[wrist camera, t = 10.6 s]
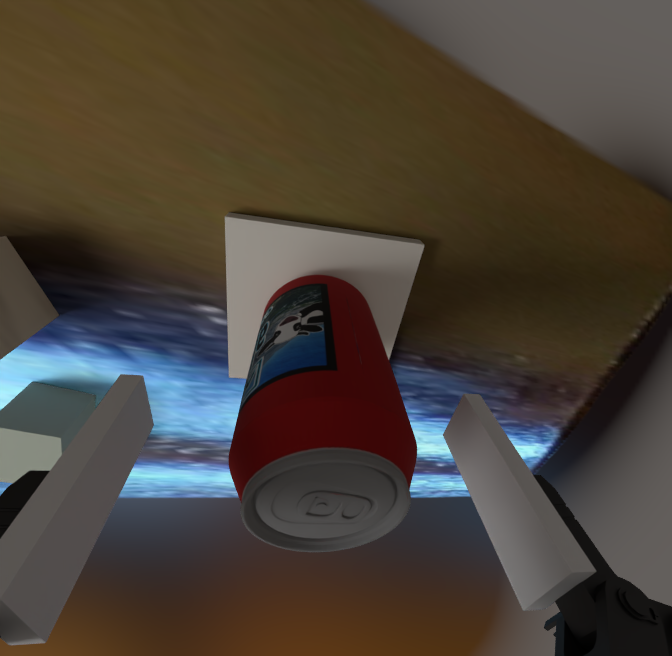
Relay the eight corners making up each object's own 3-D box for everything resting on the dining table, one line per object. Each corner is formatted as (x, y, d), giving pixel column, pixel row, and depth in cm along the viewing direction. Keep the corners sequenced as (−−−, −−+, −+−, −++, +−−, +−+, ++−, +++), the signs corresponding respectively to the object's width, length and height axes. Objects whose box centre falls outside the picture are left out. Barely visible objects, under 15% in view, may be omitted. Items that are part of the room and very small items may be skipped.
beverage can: (279, 252, 17) (241, 421, 7) (387, 288, 19) (476, 465, 9) (252, 346, 21) (199, 553, 11) (347, 369, 22) (378, 567, 12)
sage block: (39, 434, 25) (-3, 481, 22) (33, 380, 22) (-16, 425, 19) (95, 443, 26) (63, 489, 23) (96, 393, 23) (60, 437, 20)
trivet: (232, 368, 23) (229, 377, 22) (229, 212, 17) (224, 216, 16) (377, 378, 24) (380, 387, 24) (419, 239, 19) (424, 244, 18)
